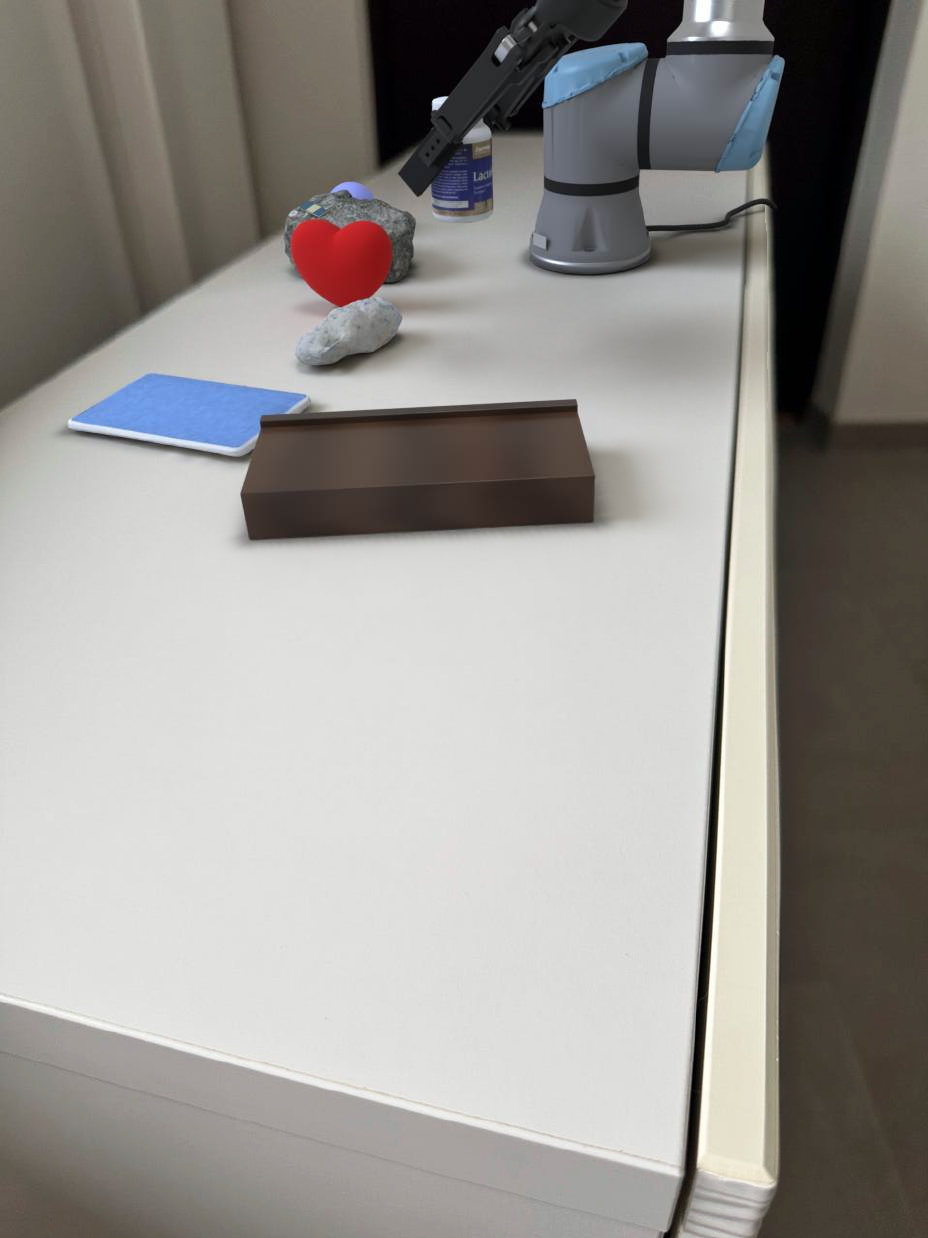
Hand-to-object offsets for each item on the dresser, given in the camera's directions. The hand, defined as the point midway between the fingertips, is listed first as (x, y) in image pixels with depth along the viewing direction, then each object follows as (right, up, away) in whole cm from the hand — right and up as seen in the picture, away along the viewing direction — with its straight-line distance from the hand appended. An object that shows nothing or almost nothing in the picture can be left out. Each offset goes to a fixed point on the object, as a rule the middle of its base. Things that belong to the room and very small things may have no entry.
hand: (427, 175), depth 95 cm
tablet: (-22, -23, 0) cm, 32 cm away
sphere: (-12, +12, +47) cm, 50 cm away
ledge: (0, -31, -13) cm, 34 cm away
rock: (-11, +3, +35) cm, 36 cm away
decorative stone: (-8, -14, +12) cm, 20 cm away
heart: (-10, -6, +22) cm, 25 cm away
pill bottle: (+3, -4, +1) cm, 5 cm away
